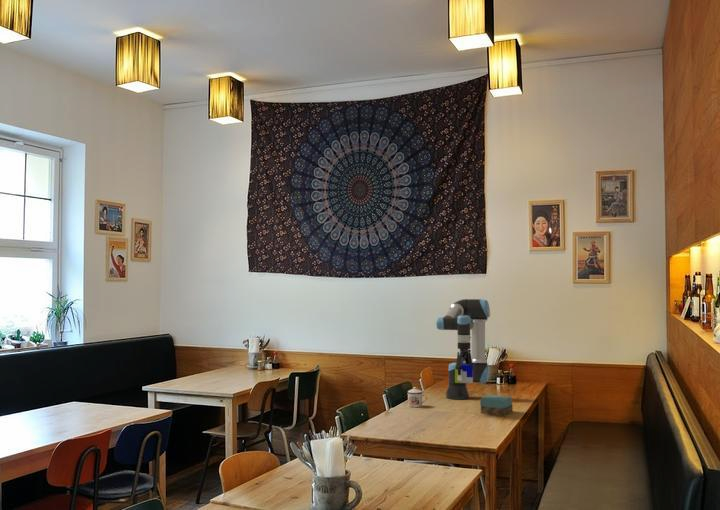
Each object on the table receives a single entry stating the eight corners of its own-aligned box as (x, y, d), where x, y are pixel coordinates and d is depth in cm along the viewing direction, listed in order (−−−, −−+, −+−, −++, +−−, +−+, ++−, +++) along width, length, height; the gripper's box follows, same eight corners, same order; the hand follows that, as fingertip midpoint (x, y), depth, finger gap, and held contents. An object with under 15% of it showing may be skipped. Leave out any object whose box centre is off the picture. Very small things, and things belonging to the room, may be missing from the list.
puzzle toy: (472, 383, 383) (472, 365, 383) (455, 382, 385) (454, 365, 385) (473, 380, 393) (473, 363, 393) (456, 379, 395) (456, 363, 395)
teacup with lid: (406, 407, 404) (405, 387, 405) (409, 404, 413) (409, 385, 413) (425, 408, 401) (425, 388, 401) (428, 405, 409) (428, 386, 410)
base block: (481, 413, 386) (480, 406, 386) (490, 409, 398) (490, 402, 398) (504, 416, 379) (503, 408, 379) (512, 412, 390) (512, 404, 390)
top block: (480, 406, 386) (480, 398, 387) (489, 402, 398) (489, 394, 398) (503, 408, 379) (503, 400, 379) (511, 404, 390) (511, 397, 391)
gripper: (461, 344, 377) (461, 382, 377) (477, 340, 398) (478, 376, 397) (449, 343, 381) (449, 381, 381) (466, 339, 402) (466, 375, 401)
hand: (464, 379), depth 389 cm, fingers closed on puzzle toy, 12 cm apart
